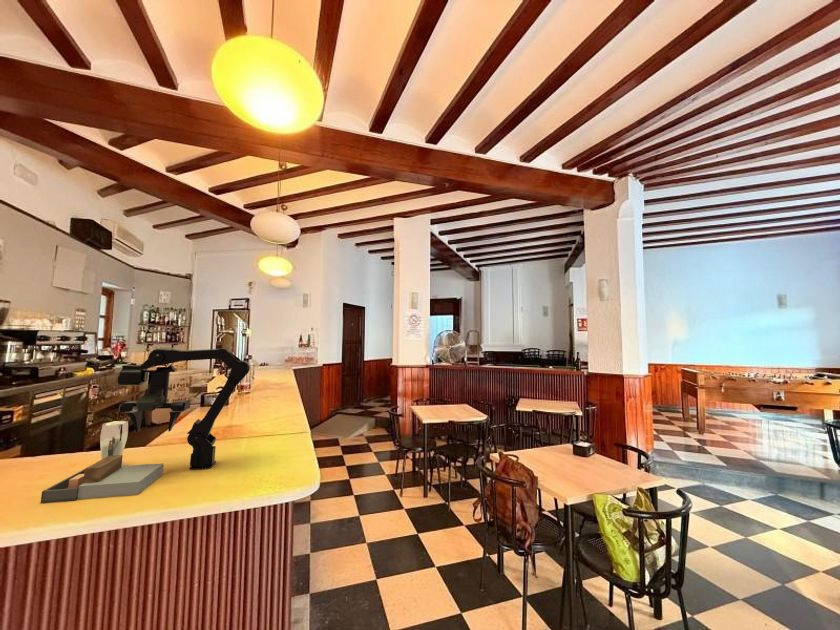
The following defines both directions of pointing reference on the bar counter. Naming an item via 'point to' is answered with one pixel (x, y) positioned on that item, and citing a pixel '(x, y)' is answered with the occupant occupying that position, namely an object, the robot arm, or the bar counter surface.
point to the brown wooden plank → (102, 468)
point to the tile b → (76, 481)
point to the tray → (61, 491)
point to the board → (122, 482)
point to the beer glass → (113, 438)
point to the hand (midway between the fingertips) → (153, 431)
